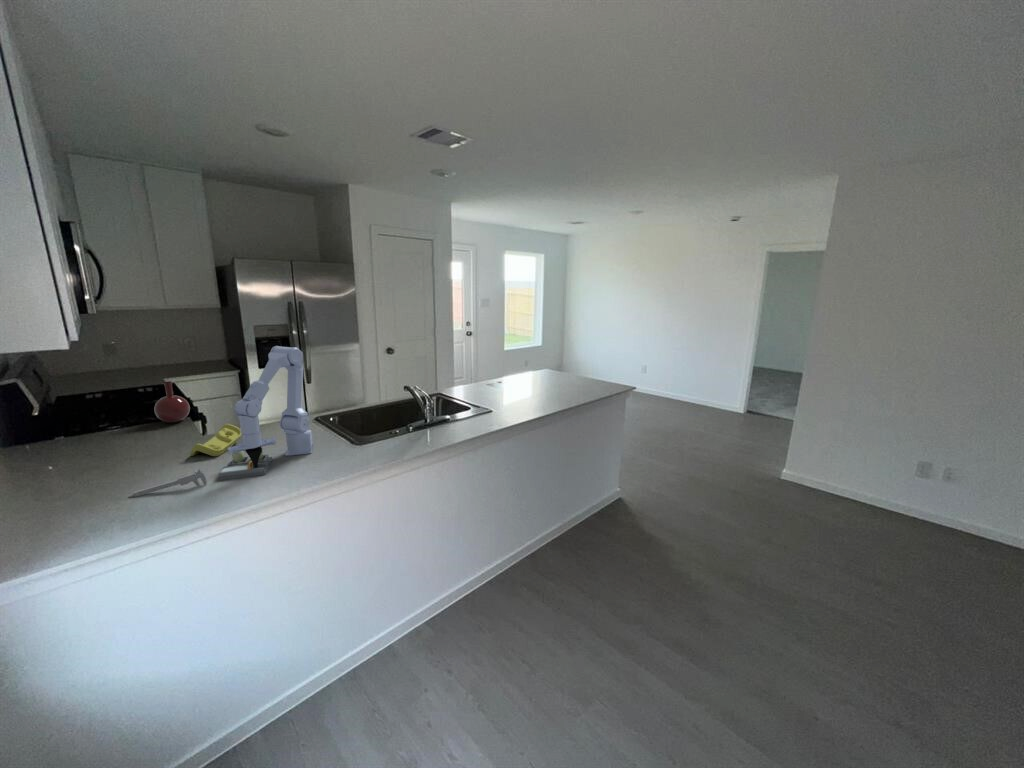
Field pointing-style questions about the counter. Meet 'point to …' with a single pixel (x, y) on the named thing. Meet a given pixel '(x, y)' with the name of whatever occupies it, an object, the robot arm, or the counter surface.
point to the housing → (260, 470)
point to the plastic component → (219, 441)
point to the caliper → (175, 483)
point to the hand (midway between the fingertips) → (255, 466)
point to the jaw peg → (238, 457)
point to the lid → (239, 467)
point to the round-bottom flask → (171, 406)
